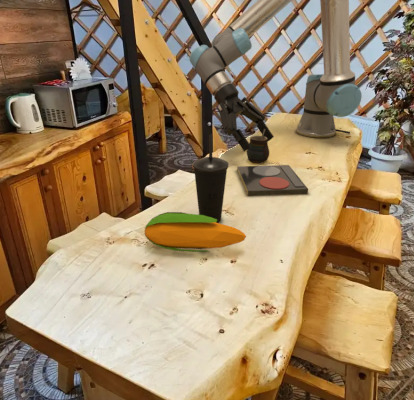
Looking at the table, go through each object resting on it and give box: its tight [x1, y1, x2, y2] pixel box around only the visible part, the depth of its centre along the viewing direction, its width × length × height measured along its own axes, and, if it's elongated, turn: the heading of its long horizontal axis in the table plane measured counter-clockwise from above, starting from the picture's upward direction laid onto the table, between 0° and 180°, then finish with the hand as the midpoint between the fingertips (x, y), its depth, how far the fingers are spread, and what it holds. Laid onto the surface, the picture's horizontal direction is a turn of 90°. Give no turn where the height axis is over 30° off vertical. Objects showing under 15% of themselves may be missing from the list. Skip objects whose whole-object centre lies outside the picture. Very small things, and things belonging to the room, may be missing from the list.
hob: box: [236, 164, 309, 197], centre depth 104 cm, size 16×18×2 cm
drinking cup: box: [192, 133, 229, 223], centre depth 80 cm, size 8×8×20 cm
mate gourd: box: [246, 129, 270, 165], centre depth 118 cm, size 7×8×10 cm
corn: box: [144, 211, 247, 253], centre depth 72 cm, size 7×8×20 cm
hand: (259, 144), depth 117 cm, fingers open, 13 cm apart
